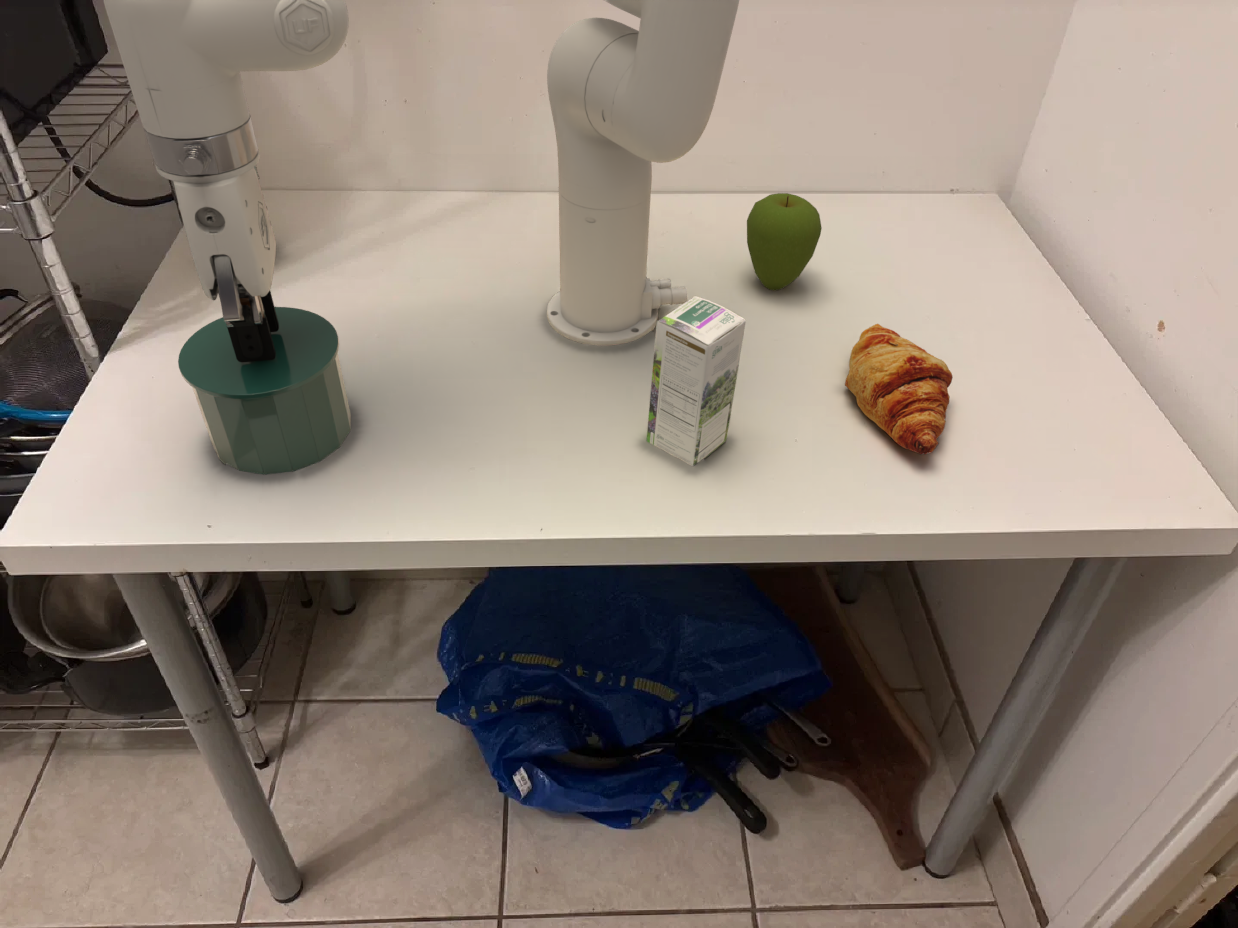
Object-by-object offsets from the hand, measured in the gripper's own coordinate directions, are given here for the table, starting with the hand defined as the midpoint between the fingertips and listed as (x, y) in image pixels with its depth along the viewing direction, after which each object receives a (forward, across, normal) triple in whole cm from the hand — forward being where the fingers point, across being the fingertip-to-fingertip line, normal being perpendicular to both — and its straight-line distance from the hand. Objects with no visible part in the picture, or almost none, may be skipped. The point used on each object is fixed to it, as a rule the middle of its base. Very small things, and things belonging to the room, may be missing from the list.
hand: (258, 343), depth 82 cm
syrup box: (+11, -8, -38) cm, 40 cm away
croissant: (+11, -5, -61) cm, 62 cm away
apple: (+11, +19, -56) cm, 60 cm away
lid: (+1, 0, 0) cm, 1 cm away
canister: (+10, 0, 0) cm, 10 cm away
